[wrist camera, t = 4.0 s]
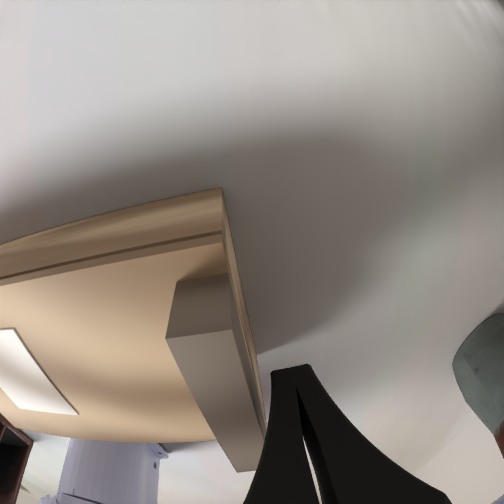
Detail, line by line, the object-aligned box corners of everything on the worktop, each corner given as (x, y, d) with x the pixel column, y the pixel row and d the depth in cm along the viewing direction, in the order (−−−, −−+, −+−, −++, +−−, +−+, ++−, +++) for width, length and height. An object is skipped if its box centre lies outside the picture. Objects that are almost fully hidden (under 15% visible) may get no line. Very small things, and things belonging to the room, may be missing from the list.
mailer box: (256, 355, 19) (265, 419, 14) (38, 372, 19) (18, 418, 14) (221, 187, 14) (221, 229, 9) (-30, 255, 13) (-71, 295, 9)
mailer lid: (266, 424, 14) (274, 474, 11) (17, 421, 14) (6, 453, 11) (221, 234, 9) (222, 294, 6) (-74, 298, 9) (-100, 329, 6)
